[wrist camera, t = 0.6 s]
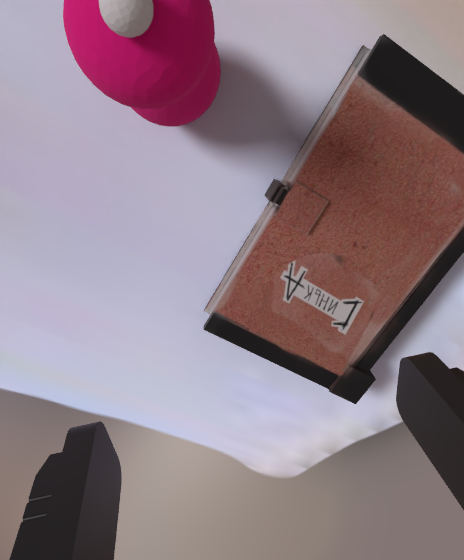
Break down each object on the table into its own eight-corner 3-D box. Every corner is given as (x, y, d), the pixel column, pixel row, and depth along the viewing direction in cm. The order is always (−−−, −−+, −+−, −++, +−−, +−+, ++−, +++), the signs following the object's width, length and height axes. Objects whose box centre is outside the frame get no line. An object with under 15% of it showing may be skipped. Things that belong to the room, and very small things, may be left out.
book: (353, 41, 31) (378, 26, 26) (507, 155, 35) (553, 159, 30) (197, 304, 39) (196, 328, 34) (339, 374, 42) (355, 404, 38)
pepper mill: (232, 48, 30) (271, -81, 12) (200, 140, 33) (192, 154, 14) (142, 7, 29) (24, -212, 10) (116, 106, 31) (-18, 71, 13)
